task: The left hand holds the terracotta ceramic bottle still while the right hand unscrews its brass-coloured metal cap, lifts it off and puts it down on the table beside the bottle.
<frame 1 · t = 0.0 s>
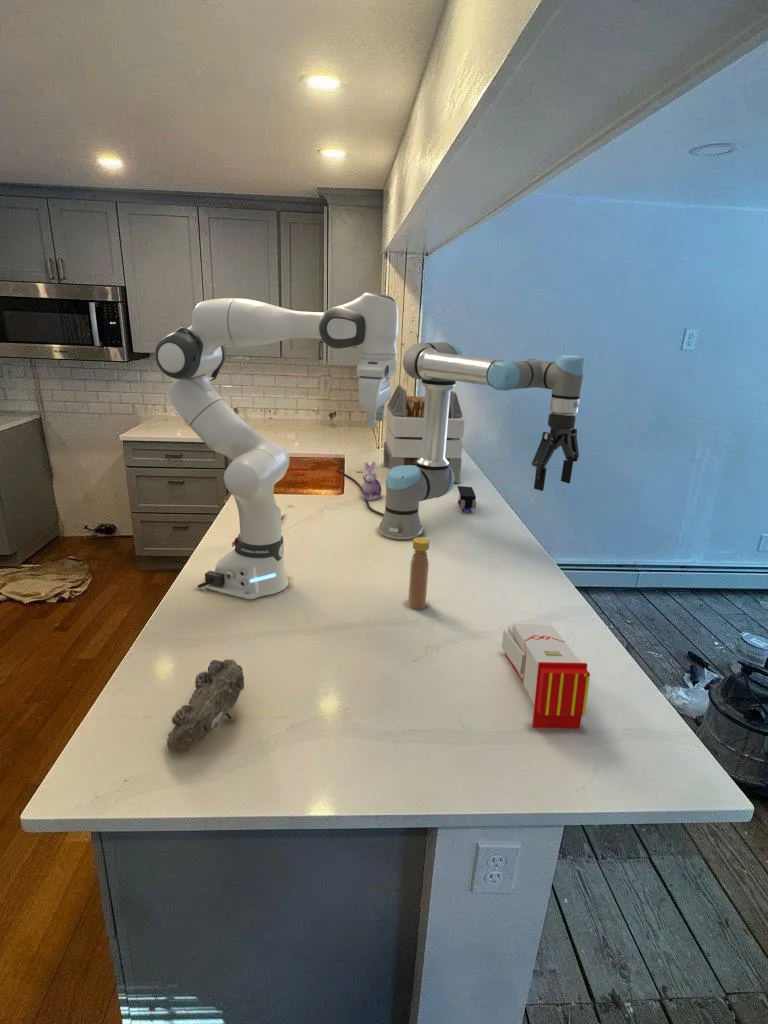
left hand: (375, 424, 139), 48 cm above the counter, tool pointing down, fingers open, 8 cm apart
right hand: (552, 485, 166), 28 cm above the counter, tool pointing down, fingers open, 13 cm apart
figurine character: (465, 508, 228), on the counter
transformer: (419, 473, 275), on the counter
feather: (282, 518, 209), on the counter
figurine: (371, 497, 237), on the counter
toy: (535, 684, 122), on the counter
bottle: (416, 604, 153), on the counter
fossil: (212, 717, 108), on the counter
cap: (421, 541, 146), point 19 cm above the counter, screwed on, not yet turned
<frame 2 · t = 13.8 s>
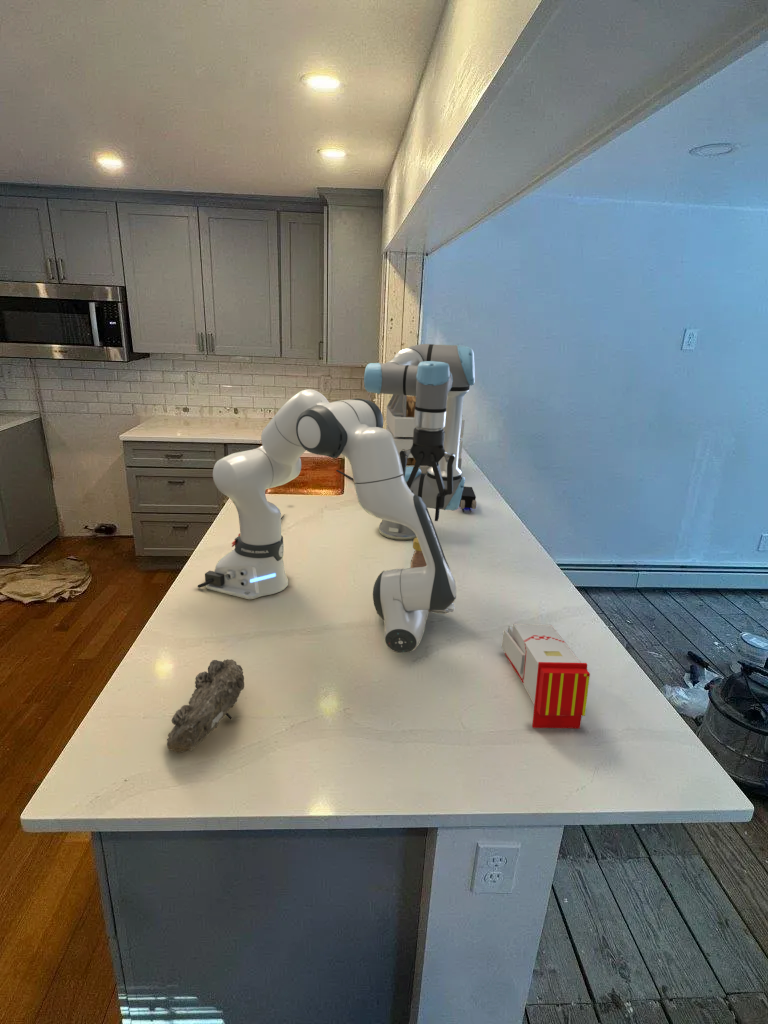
left hand: (418, 582, 151), 6 cm above the counter, tool horizontal, fingers closed on bottle, 5 cm apart
right hand: (422, 517, 144), 25 cm above the counter, tool pointing down, fingers open, 6 cm apart
bottle: (416, 604, 153), on the counter, touching left hand
everything else where it was.
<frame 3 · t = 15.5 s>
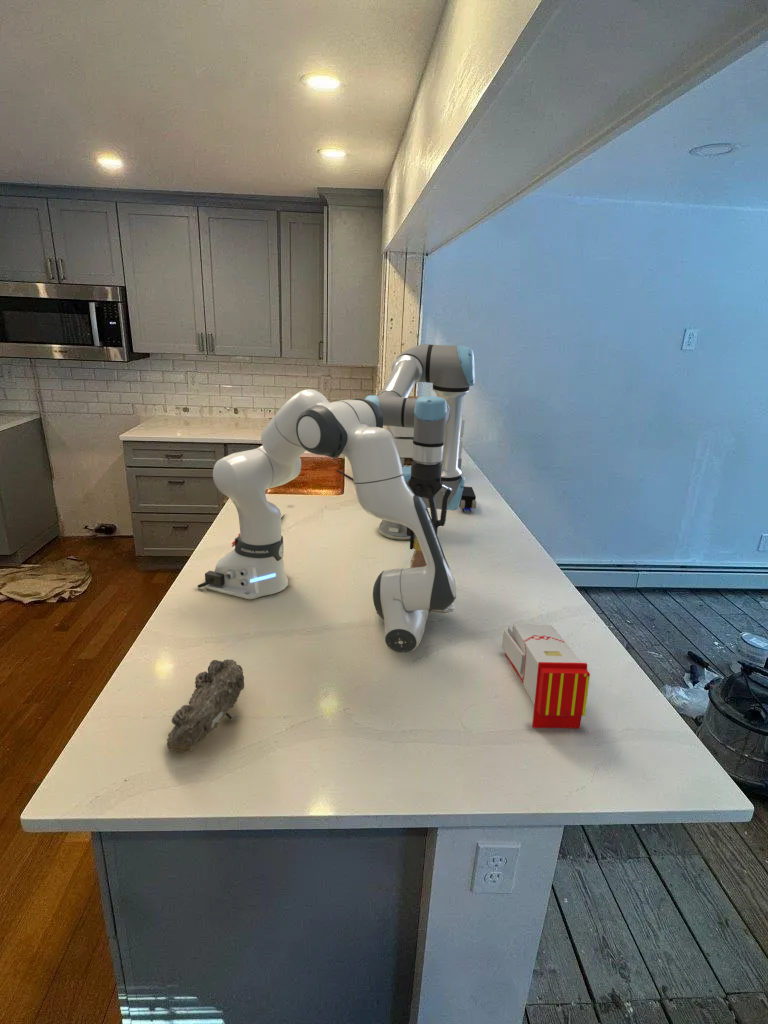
left hand: (418, 582, 151), 6 cm above the counter, tool horizontal, fingers closed on bottle, 5 cm apart
right hand: (420, 548, 147), 17 cm above the counter, tool pointing down, fingers closed on cap, 4 cm apart
bottle: (416, 604, 153), on the counter, touching left hand
cap: (421, 541, 146), point 19 cm above the counter, screwed on, not yet turned, touching right hand
everything else where it was.
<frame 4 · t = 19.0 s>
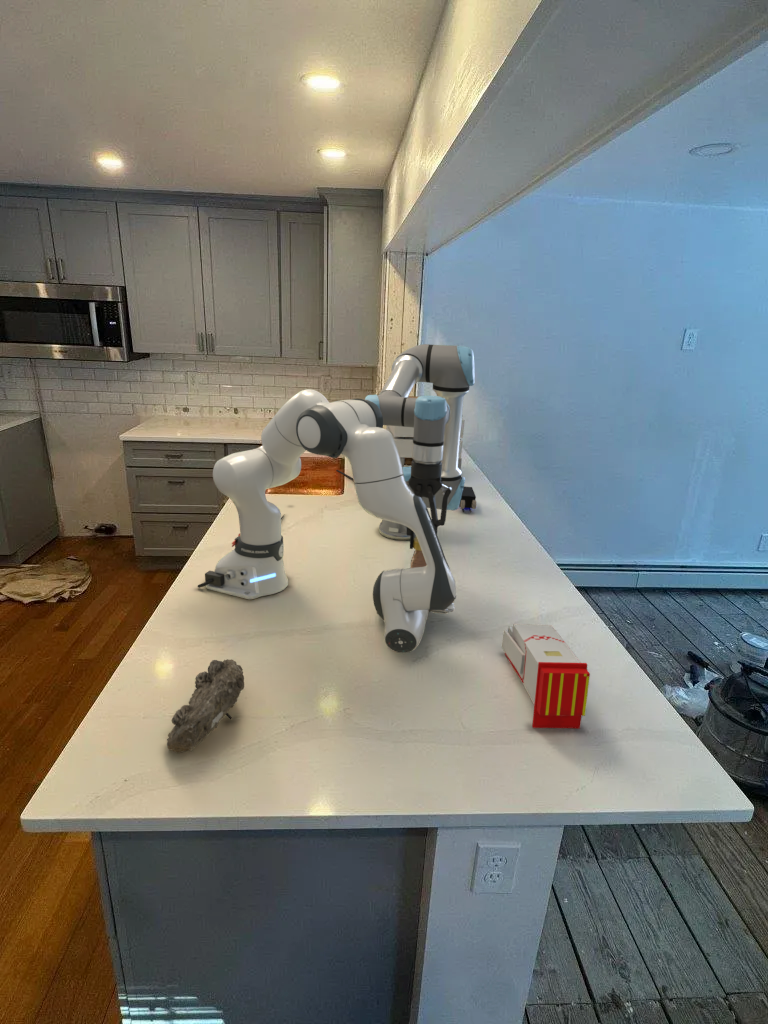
left hand: (418, 582, 151), 6 cm above the counter, tool horizontal, fingers closed on bottle, 5 cm apart
right hand: (420, 547, 147), 17 cm above the counter, tool pointing down, fingers closed on cap, 4 cm apart
bottle: (416, 604, 153), on the counter, touching left hand
cap: (421, 540, 146), point 19 cm above the counter, turned 120° so far, risen 0.1 cm, still on its thread, touching right hand
everything else where it was.
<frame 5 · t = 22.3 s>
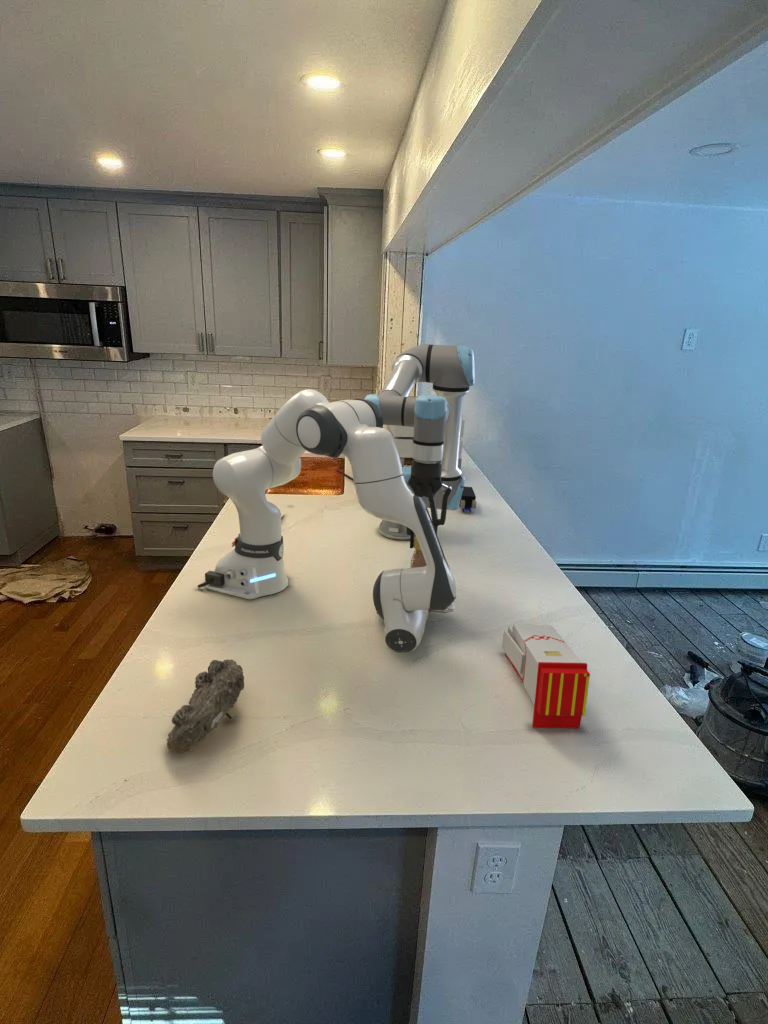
left hand: (418, 582, 151), 6 cm above the counter, tool horizontal, fingers closed on bottle, 5 cm apart
right hand: (420, 547, 147), 17 cm above the counter, tool pointing down, fingers closed on cap, 4 cm apart
bottle: (416, 604, 153), on the counter, touching left hand
cap: (421, 540, 146), point 19 cm above the counter, turned 240° so far, risen 0.3 cm, still on its thread, touching right hand
everything else where it was.
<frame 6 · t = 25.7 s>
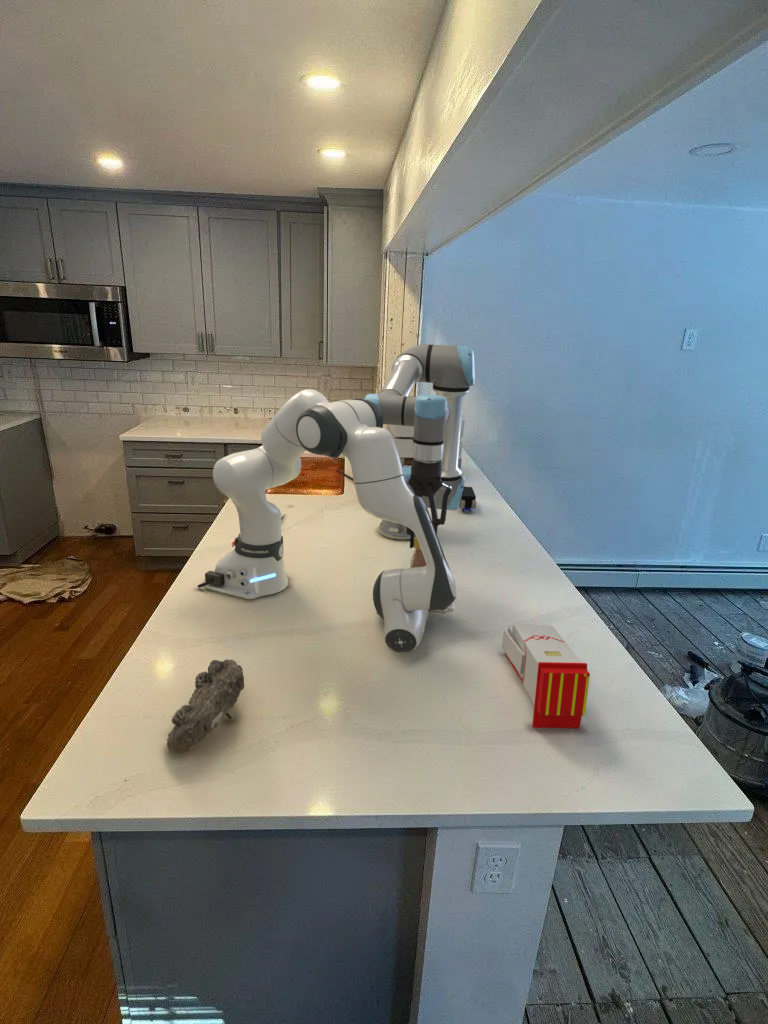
left hand: (418, 582, 151), 6 cm above the counter, tool horizontal, fingers closed on bottle, 5 cm apart
right hand: (420, 546, 147), 17 cm above the counter, tool pointing down, fingers closed on cap, 4 cm apart
bottle: (416, 604, 153), on the counter, touching left hand
cap: (421, 539, 146), point 19 cm above the counter, turned 359° so far, risen 0.4 cm, still on its thread, touching right hand
everything else where it was.
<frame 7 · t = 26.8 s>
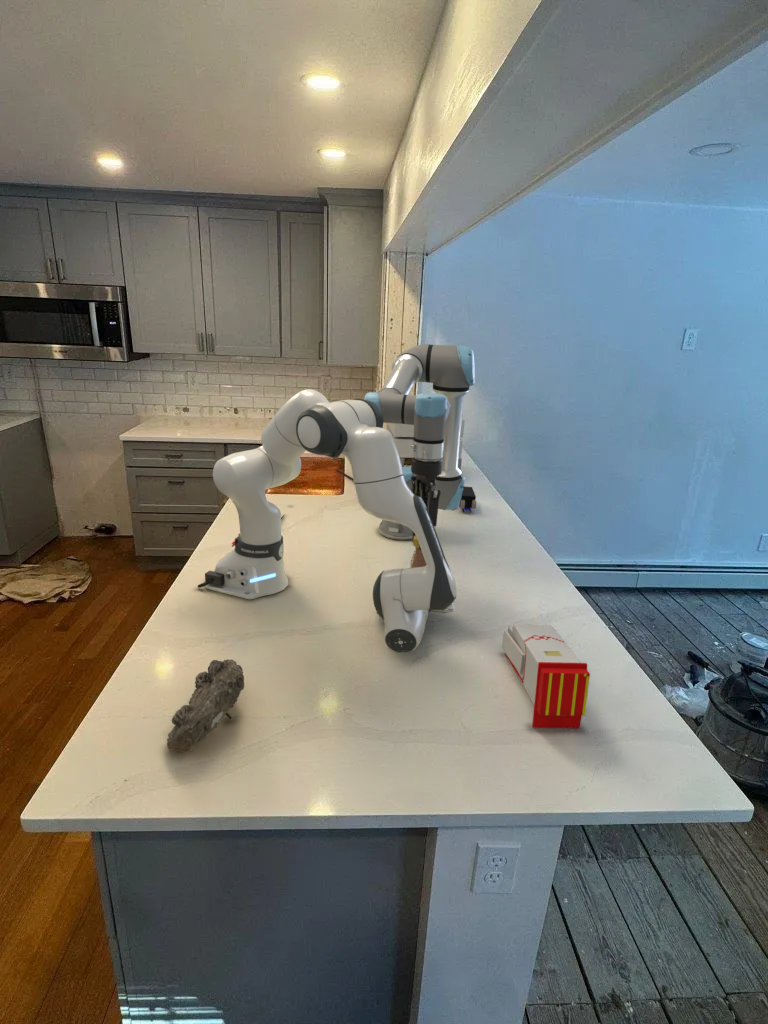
left hand: (418, 582, 151), 6 cm above the counter, tool horizontal, fingers closed on bottle, 5 cm apart
right hand: (421, 545, 147), 17 cm above the counter, tool pointing down, fingers closed on cap, 4 cm apart
bottle: (416, 604, 153), on the counter, touching left hand
cap: (421, 538, 146), point 19 cm above the counter, off its thread, touching right hand
everything else where it was.
when the right hand's fingers open (1 cm above the counter, at t = 32.1 s): cap drops 1 cm, point 2 cm above the counter.
when the left hand's fingers open (6 cm above the counter, at t = 33.4 s): bottle stays where it is, on the counter.
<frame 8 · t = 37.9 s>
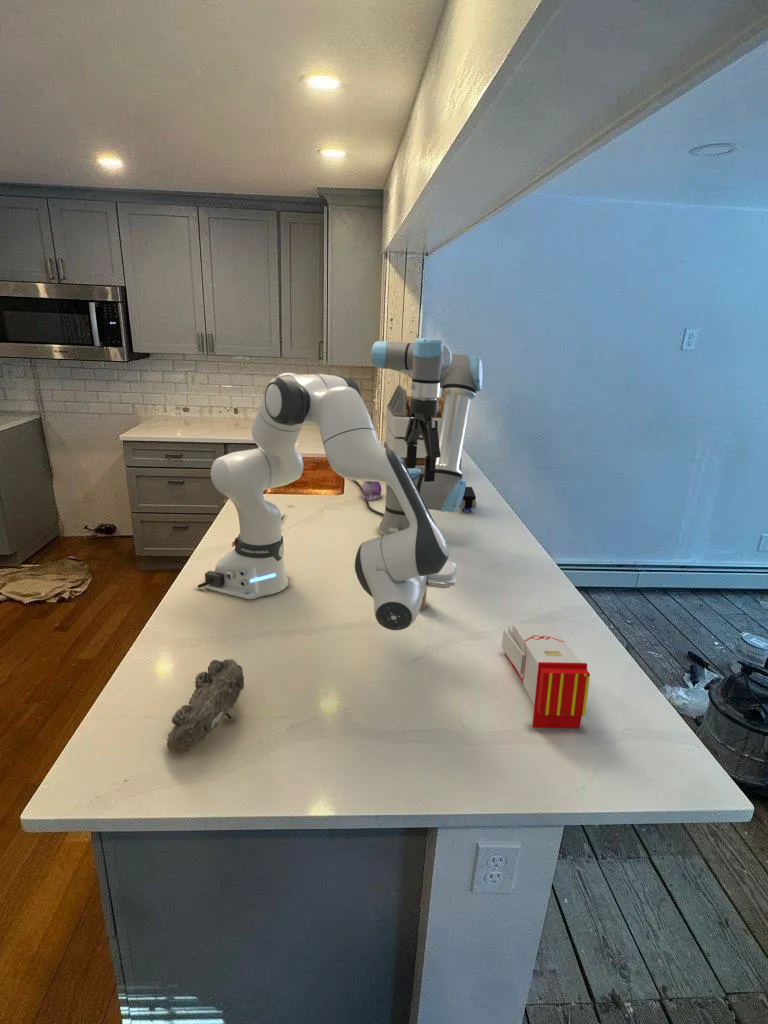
left hand: (415, 555, 135), 19 cm above the counter, tool horizontal, fingers open, 8 cm apart
right hand: (419, 474, 159), 31 cm above the counter, tool pointing down, fingers open, 13 cm apart
bottle: (416, 604, 153), on the counter
cap: (413, 568, 169), point 2 cm above the counter, off its thread
everything else where it was.
at the end: cap came off its thread; cap point 1.9 cm above the counter; the left hand is holding nothing; the right hand is holding nothing; bottle tilted 0°; bottle moved 0.0 cm from its start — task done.
